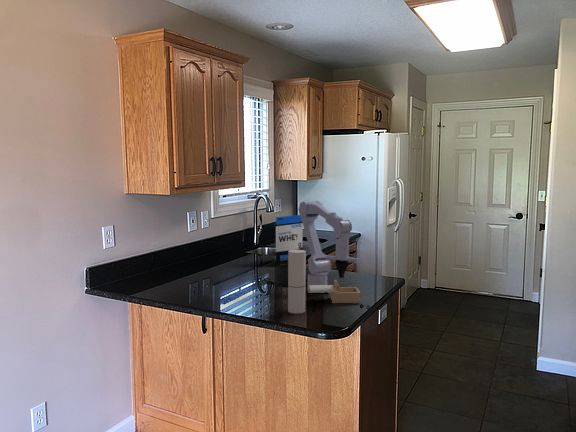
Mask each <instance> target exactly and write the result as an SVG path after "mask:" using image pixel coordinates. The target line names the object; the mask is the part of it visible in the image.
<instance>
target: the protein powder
mask: <svg viewBox="0 0 576 432" xmlns="http://www.w3.org/2000/svg"><path fill="white" fill-rule="evenodd" d="M303 230H304V226H303V223H302V220H301V217H300V214H295V215H288V216H287V215H286V216H276V217H275V268H278V267H277V266H287V267H288V251H289V250H303V241H304V240H303V239H304V238H303V233H304V231H303Z"/></svg>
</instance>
